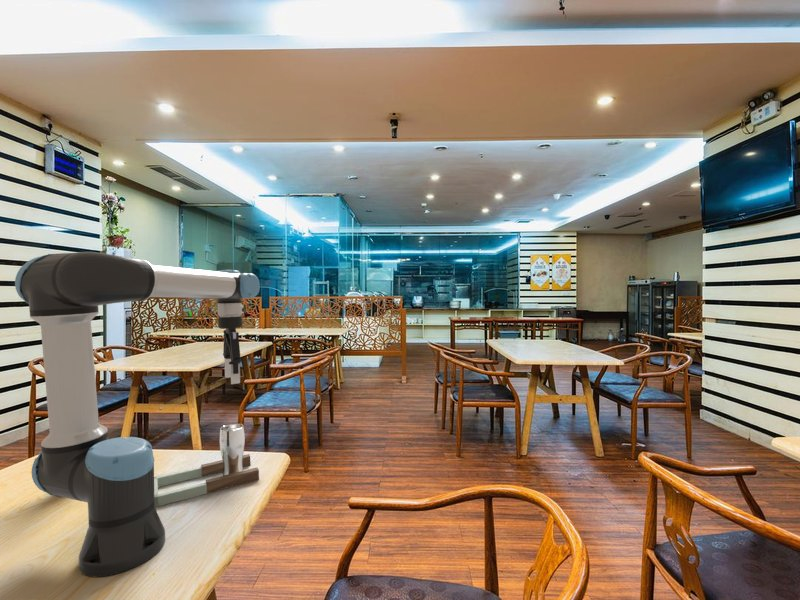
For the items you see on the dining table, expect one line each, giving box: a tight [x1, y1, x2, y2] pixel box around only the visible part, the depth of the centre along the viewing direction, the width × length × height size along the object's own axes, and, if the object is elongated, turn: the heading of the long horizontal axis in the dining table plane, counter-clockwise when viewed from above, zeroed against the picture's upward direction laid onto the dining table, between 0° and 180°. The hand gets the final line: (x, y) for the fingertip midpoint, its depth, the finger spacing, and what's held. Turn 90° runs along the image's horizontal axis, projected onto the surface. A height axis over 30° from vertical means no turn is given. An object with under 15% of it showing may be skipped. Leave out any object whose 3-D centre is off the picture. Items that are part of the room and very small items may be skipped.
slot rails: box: [200, 453, 260, 494], centre depth 119 cm, size 14×14×3 cm
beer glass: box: [219, 423, 245, 476], centre depth 120 cm, size 7×7×15 cm
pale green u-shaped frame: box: [154, 466, 208, 508], centre depth 112 cm, size 14×13×2 cm
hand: (232, 380), depth 134 cm, fingers open, 11 cm apart
